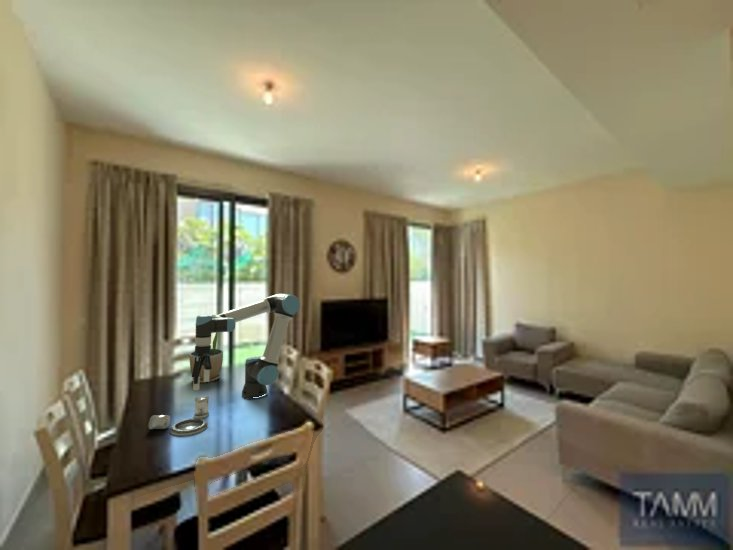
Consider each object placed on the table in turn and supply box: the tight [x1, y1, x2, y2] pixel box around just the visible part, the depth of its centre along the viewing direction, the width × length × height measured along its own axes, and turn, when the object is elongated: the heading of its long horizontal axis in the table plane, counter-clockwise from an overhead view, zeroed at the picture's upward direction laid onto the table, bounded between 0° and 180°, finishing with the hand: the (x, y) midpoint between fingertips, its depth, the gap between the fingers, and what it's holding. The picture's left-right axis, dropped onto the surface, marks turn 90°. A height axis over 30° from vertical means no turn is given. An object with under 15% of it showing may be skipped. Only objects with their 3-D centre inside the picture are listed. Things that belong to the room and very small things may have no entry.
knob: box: [193, 395, 210, 419], centre depth 181 cm, size 7×7×9 cm
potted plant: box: [188, 332, 224, 384], centre depth 240 cm, size 21×22×40 cm
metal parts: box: [148, 414, 209, 437], centre depth 165 cm, size 25×16×6 cm, turn 95°
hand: (201, 385), depth 181 cm, fingers open, 13 cm apart
